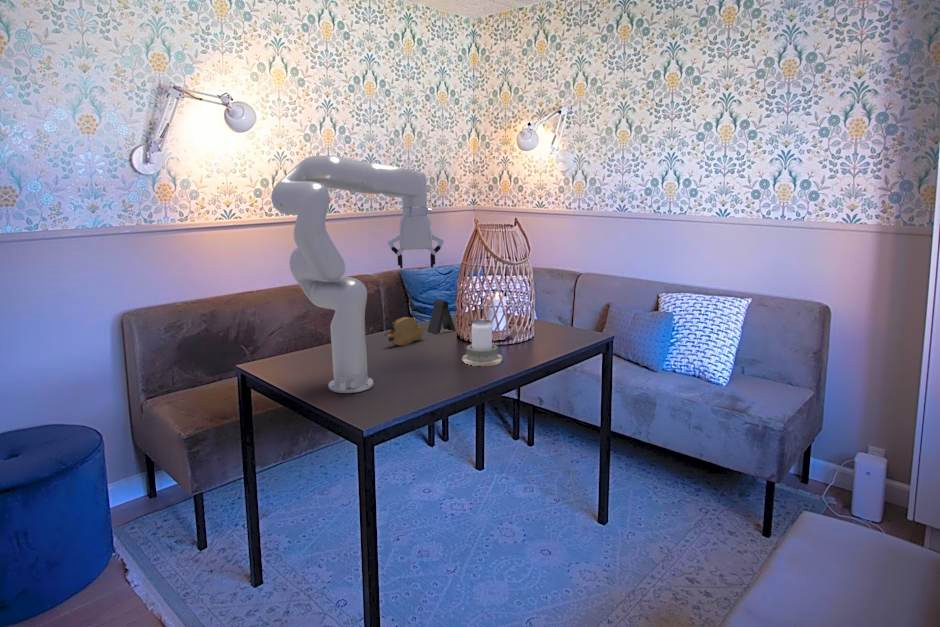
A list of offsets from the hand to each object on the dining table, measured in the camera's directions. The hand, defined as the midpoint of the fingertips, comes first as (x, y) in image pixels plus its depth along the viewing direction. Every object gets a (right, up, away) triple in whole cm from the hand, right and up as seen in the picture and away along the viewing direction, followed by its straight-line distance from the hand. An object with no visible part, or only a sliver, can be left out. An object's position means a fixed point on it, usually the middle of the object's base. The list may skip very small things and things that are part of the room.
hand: (416, 267), depth 201 cm
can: (+21, -29, +4) cm, 36 cm away
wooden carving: (-6, -26, +26) cm, 37 cm away
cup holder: (+21, -30, +4) cm, 37 cm away
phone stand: (+6, -22, +43) cm, 49 cm away
